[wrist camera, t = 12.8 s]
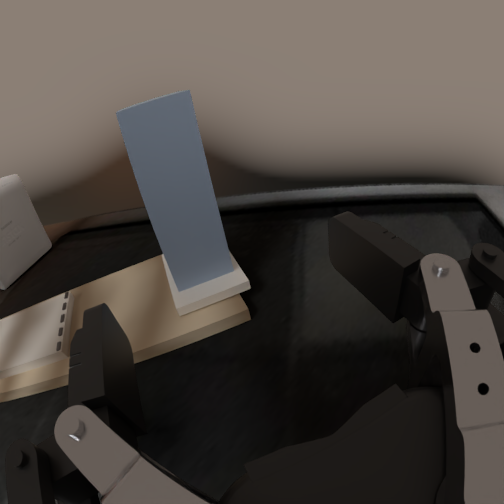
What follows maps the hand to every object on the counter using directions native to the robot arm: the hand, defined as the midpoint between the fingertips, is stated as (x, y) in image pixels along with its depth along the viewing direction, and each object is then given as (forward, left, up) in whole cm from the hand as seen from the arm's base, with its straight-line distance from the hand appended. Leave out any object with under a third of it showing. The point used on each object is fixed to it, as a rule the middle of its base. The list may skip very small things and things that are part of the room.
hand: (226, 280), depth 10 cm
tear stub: (-5, +9, -7) cm, 13 cm away
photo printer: (-33, +13, -8) cm, 37 cm away
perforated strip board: (-15, +3, -8) cm, 17 cm away
